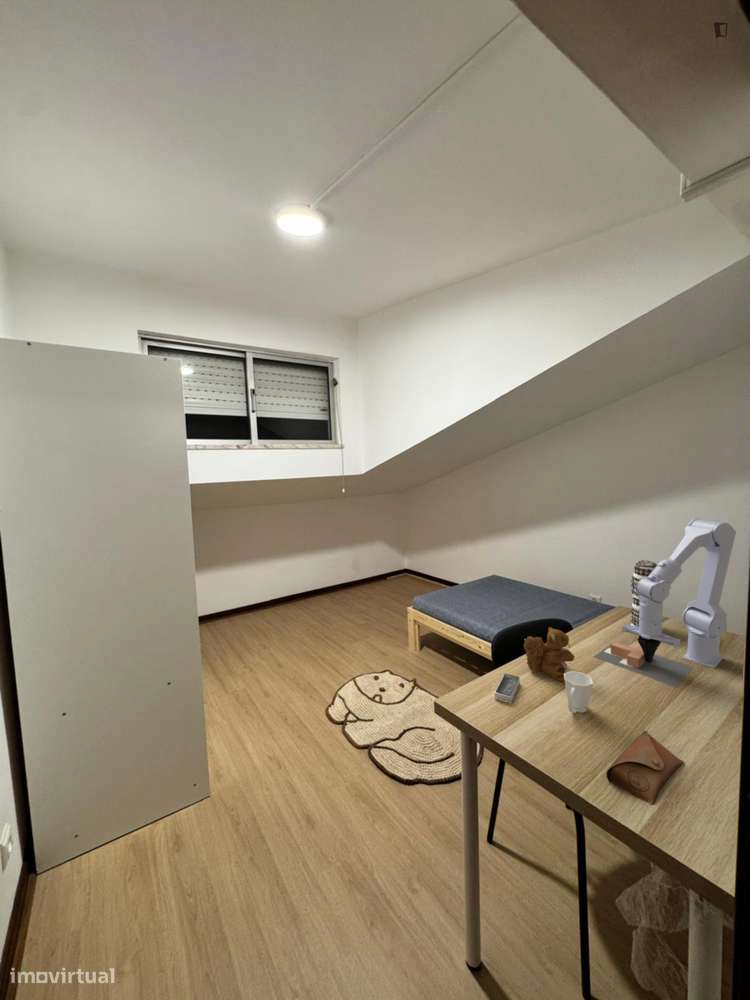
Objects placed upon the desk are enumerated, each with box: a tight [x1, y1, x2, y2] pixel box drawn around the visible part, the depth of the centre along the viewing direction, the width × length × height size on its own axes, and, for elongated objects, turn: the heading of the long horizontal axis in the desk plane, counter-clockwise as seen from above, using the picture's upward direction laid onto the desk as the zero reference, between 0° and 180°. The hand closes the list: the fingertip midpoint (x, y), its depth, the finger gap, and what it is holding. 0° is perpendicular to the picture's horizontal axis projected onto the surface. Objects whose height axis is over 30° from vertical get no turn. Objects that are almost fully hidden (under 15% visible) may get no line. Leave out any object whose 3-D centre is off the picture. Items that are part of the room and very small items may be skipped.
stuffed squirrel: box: [523, 626, 575, 683], centre depth 118 cm, size 10×14×13 cm
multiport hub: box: [494, 673, 521, 703], centre depth 110 cm, size 4×11×2 cm, turn 148°
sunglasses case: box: [606, 730, 685, 806], centre depth 81 cm, size 18×7×7 cm, turn 127°
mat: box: [593, 641, 695, 688], centre depth 122 cm, size 16×22×1 cm
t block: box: [610, 641, 646, 668], centre depth 124 cm, size 10×9×3 cm
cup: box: [564, 670, 594, 714], centre depth 100 cm, size 7×10×8 cm
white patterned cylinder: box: [630, 560, 658, 627], centre depth 145 cm, size 9×9×25 cm
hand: (648, 661), depth 120 cm, fingers closed
